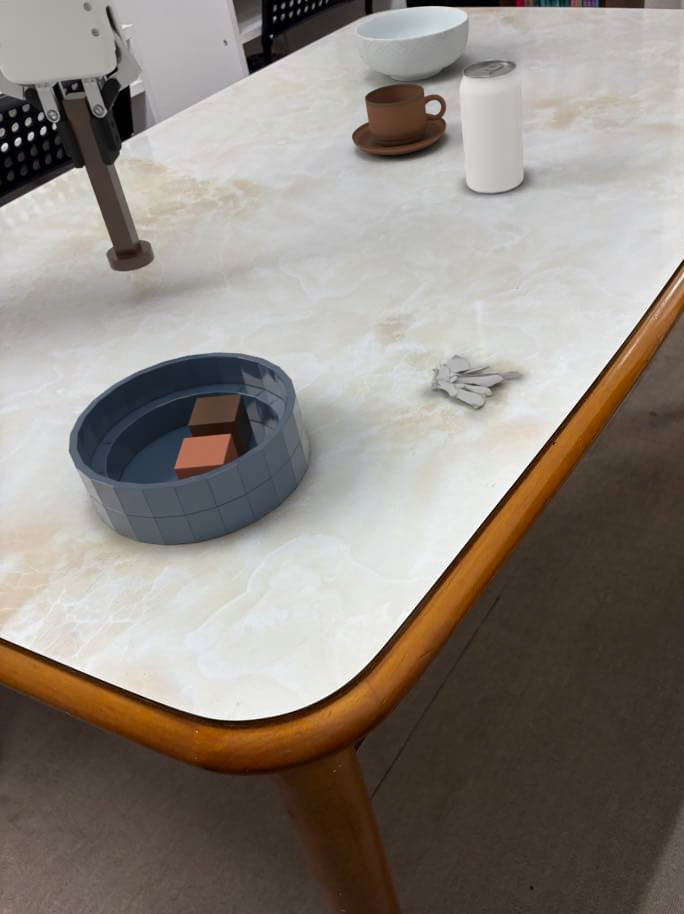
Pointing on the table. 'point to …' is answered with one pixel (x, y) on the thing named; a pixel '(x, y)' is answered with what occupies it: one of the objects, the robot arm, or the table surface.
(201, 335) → the table surface
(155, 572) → the table surface
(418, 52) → the cereal bowl
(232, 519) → the bowl
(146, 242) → the stirrer
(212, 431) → the block walnut
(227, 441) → the block terracotta
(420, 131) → the cup and saucer
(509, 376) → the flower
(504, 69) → the can
